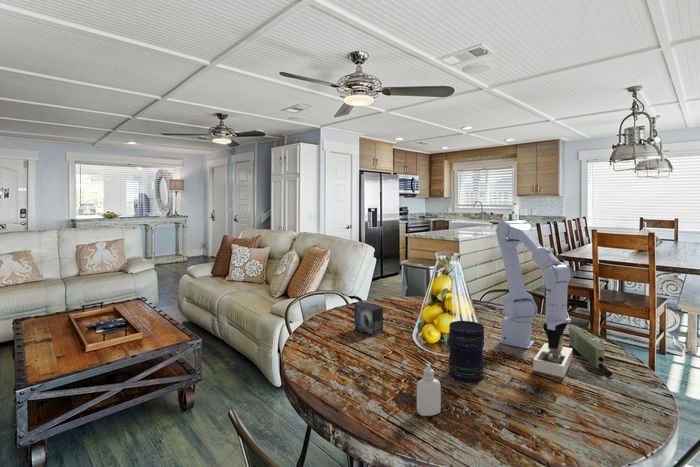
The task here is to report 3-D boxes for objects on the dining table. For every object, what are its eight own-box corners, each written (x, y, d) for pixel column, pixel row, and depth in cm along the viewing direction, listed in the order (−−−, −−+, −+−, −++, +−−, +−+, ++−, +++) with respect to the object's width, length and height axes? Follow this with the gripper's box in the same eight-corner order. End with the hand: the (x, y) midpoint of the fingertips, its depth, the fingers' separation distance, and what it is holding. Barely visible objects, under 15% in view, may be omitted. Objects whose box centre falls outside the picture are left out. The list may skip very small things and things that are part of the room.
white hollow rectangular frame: (563, 378, 108) (563, 366, 108) (533, 371, 113) (533, 359, 113) (572, 359, 120) (572, 348, 120) (544, 353, 125) (544, 342, 125)
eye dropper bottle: (417, 406, 95) (417, 359, 94) (440, 408, 93) (441, 362, 92) (416, 415, 91) (416, 367, 90) (440, 418, 89) (440, 369, 88)
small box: (353, 330, 151) (353, 304, 150) (365, 326, 156) (364, 301, 155) (372, 336, 144) (372, 309, 143) (383, 332, 148) (383, 306, 147)
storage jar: (483, 370, 114) (484, 322, 113) (483, 385, 105) (484, 333, 103) (449, 366, 117) (450, 319, 116) (447, 380, 108) (447, 329, 107)
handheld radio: (578, 345, 133) (617, 378, 108) (568, 345, 133) (604, 378, 109) (578, 326, 132) (617, 355, 108) (568, 326, 133) (604, 355, 108)
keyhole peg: (545, 360, 117) (546, 336, 117) (548, 356, 121) (549, 332, 120) (561, 364, 115) (562, 339, 114) (564, 359, 118) (565, 335, 118)
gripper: (567, 311, 108) (565, 356, 109) (574, 300, 120) (573, 341, 121) (540, 307, 113) (538, 351, 114) (550, 296, 124) (548, 337, 125)
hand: (554, 346), depth 118 cm, fingers closed on keyhole peg, 3 cm apart
